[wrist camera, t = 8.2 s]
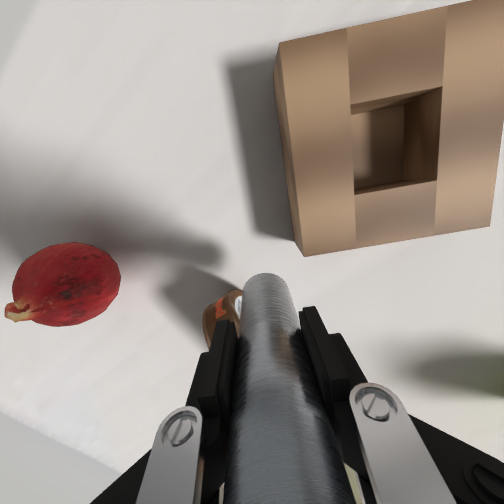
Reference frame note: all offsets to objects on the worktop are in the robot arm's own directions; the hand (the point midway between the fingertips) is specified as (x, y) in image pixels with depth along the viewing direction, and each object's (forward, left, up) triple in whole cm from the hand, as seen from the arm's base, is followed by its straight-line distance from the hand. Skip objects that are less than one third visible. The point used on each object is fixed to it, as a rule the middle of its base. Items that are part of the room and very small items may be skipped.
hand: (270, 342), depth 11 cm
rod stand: (-7, +9, -10) cm, 15 cm away
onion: (-2, -14, -10) cm, 17 cm away
